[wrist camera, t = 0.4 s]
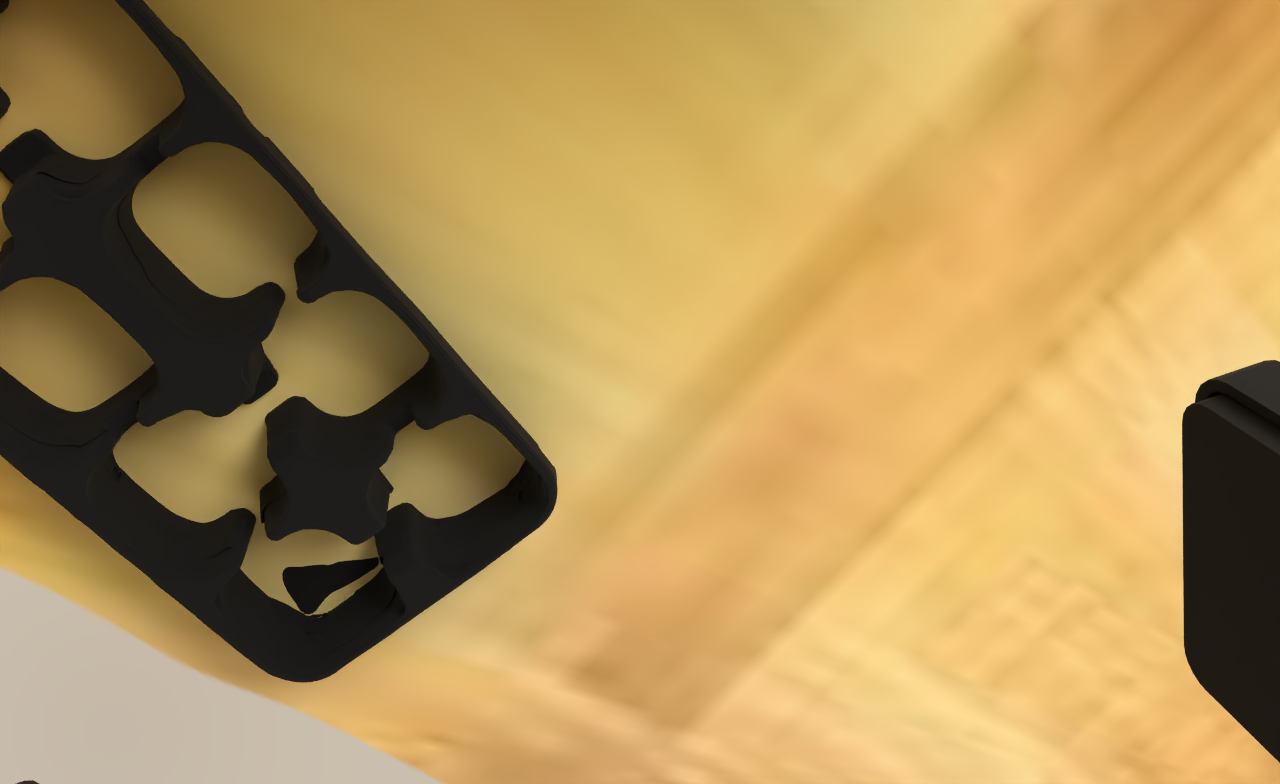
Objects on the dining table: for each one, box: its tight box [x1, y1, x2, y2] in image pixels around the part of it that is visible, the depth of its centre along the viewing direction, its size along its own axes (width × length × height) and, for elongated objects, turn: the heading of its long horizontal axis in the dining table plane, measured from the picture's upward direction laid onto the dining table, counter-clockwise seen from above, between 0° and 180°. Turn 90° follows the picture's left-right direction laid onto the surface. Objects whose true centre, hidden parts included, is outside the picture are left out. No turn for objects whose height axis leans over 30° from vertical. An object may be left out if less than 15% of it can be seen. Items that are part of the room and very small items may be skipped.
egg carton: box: [0, 0, 557, 682], centre depth 36 cm, size 18×30×4 cm, turn 46°
